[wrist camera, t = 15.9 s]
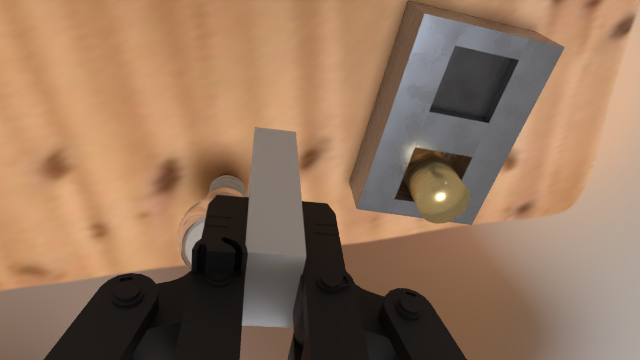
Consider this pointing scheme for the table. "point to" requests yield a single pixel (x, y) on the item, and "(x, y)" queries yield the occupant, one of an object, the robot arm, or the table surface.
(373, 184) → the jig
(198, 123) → the table surface
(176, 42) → the table surface
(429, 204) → the brass cylinder
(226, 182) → the light bulb
